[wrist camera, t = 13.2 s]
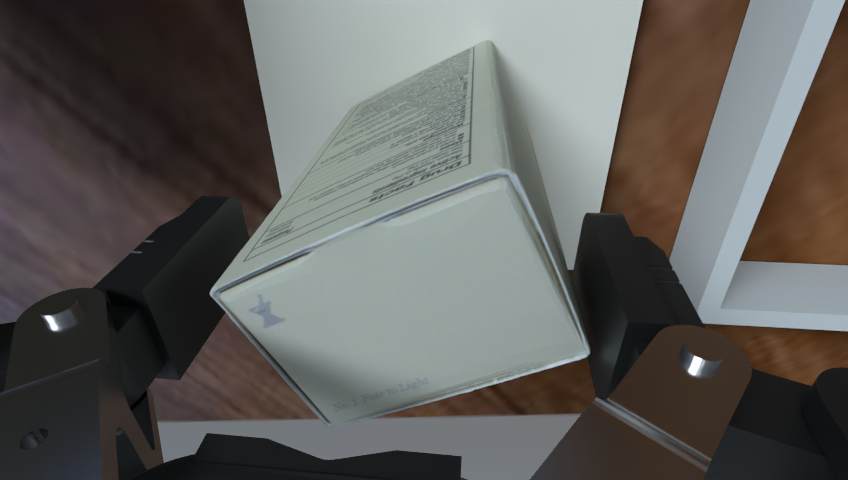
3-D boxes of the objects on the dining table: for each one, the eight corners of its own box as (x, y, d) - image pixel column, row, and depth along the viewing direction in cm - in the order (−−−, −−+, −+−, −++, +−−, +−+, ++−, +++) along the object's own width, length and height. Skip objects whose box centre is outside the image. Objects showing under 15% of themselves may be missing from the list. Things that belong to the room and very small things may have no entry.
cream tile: (233, -89, 17) (226, -90, 16) (657, -99, 15) (663, -101, 15) (297, 250, 24) (293, 256, 24) (585, 263, 23) (587, 270, 22)
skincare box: (399, 193, 21) (322, 437, 11) (346, 101, 19) (192, 295, 9) (537, 135, 19) (601, 368, 9) (494, 26, 17) (512, 165, 7)
